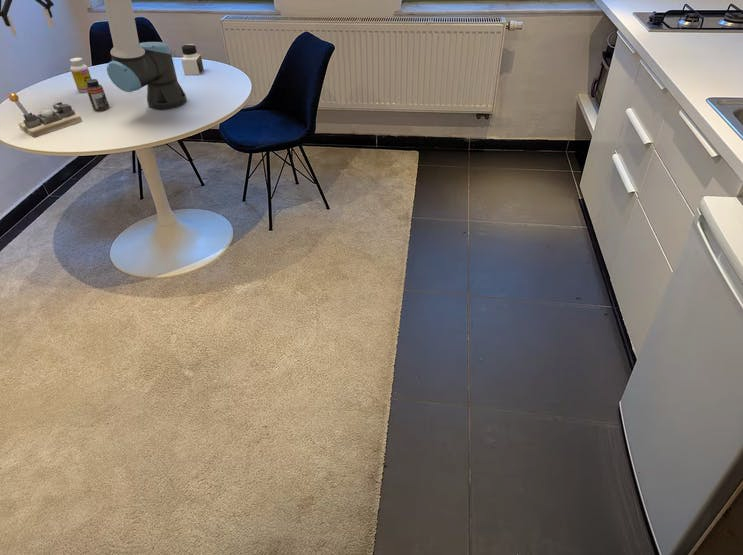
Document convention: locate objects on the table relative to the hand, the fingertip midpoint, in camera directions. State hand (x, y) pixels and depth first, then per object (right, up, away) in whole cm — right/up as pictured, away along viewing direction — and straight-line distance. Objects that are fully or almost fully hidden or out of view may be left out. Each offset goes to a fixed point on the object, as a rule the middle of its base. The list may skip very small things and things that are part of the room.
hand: (33, 31), depth 206 cm
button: (+8, -34, -4) cm, 35 cm away
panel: (+8, -36, -2) cm, 37 cm away
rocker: (+12, -30, -1) cm, 32 cm away
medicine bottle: (+48, 0, +42) cm, 64 cm away
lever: (+4, -36, -8) cm, 37 cm away
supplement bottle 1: (+6, -13, +28) cm, 31 cm away
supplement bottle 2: (+21, -27, +10) cm, 35 cm away
